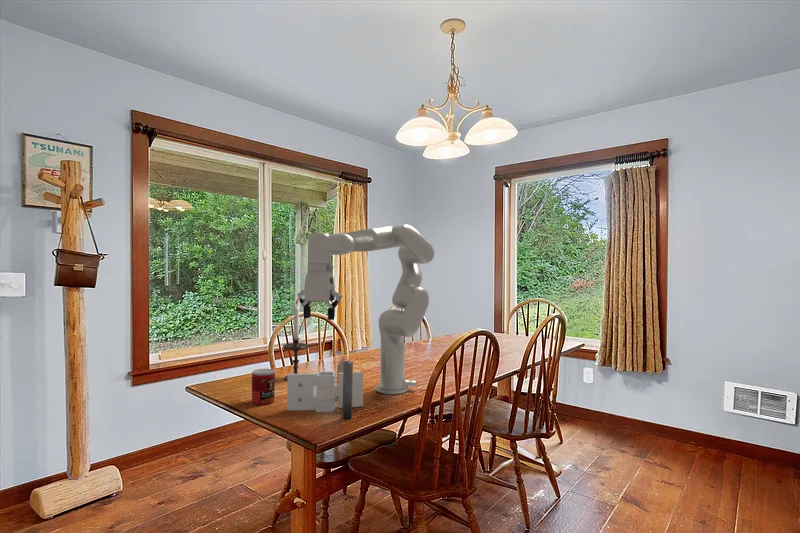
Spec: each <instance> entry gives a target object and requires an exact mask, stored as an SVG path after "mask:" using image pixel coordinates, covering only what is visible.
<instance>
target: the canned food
mask: <svg viewBox="0 0 800 533" xmlns="http://www.w3.org/2000/svg"><path fill="white" fill-rule="evenodd" d="M275 378H276V371H275V369H273V368H257V369H254V370H252V372H251V402H252V404H253V405H255V406H268V405H271V404H273V403H274V402H275V391H276V390H275V384H276V383H275V382H276V381H275V380H276V379H275Z"/></svg>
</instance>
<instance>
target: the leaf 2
mask: <svg viewBox="0 0 800 533" xmlns="http://www.w3.org/2000/svg"><path fill="white" fill-rule="evenodd" d="M335 397H338V401H337V408H338V409H343V373H338V385H337V384H335V385H334V388H317V400H329V399H335ZM357 407H359V408H360V407H364V371H353V378H352V408H357Z"/></svg>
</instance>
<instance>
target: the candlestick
mask: <svg viewBox="0 0 800 533" xmlns="http://www.w3.org/2000/svg"><path fill="white" fill-rule="evenodd" d="M298 303H299V298H296V301H295V307H294V313H293V314H294V316H293V317H294V319H293V322H294V323H293V324H294V325H293V338H291V340H293V342H291V343H290V342H289V343H285V344H283V345H282V348H283V350H287V351H288V350H289V351H293V352H294V355H293V357H294V358H293V359H292V364H293V366H292V369H293V373H292V374H299V372H298V368H299V365H298V364H299V363H300V360H299V359H298V353H299V351H300V350H301V351H302V350H306V349H309V348H310V344H309V343H306V342H300V340H301V338H299V332H300V331H299V330H300V329H299V327H300V325H299V323H300V322H299V319H300V314H299V312H300V308H299V306H298ZM287 376H288V374H286V375H285V376H284V380H285V381H286V382H287Z"/></svg>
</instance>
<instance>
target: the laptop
mask: <svg viewBox="0 0 800 533" xmlns="http://www.w3.org/2000/svg"><path fill="white" fill-rule="evenodd" d="M344 361H345V355H343V356H342V357H341V360H340V361H339V363H338V365H337V368H336V369H337V374H336V377H337V379H336V383H337V384H336V385H338V373H343V362H344ZM313 397H317V388H316V386H313ZM335 402H338V397H335Z"/></svg>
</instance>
